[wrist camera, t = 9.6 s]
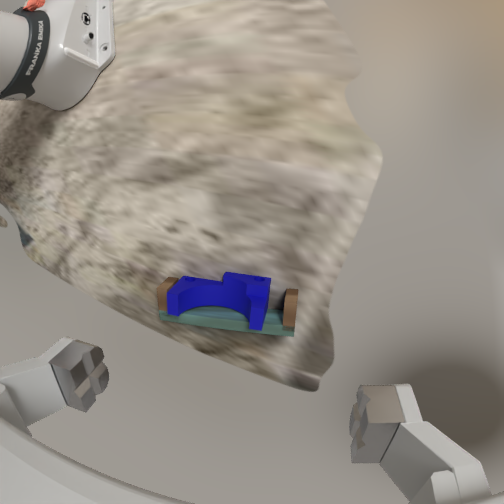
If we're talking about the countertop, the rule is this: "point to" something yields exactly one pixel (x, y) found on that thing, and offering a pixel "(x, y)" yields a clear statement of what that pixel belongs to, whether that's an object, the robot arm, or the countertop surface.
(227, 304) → the cable clip
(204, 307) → the rail
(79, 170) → the countertop surface
